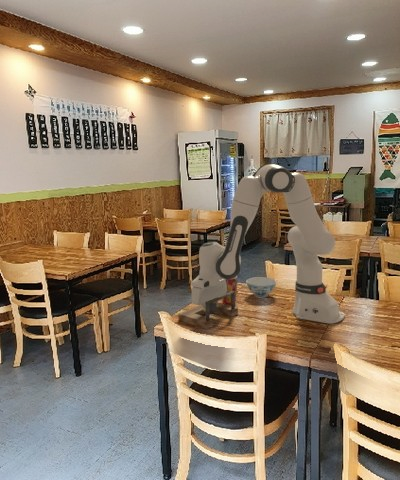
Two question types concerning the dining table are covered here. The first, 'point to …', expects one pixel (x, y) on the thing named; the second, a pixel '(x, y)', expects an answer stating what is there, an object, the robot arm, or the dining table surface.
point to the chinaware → (261, 286)
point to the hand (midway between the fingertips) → (210, 308)
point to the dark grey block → (212, 308)
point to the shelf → (200, 318)
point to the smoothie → (230, 289)
